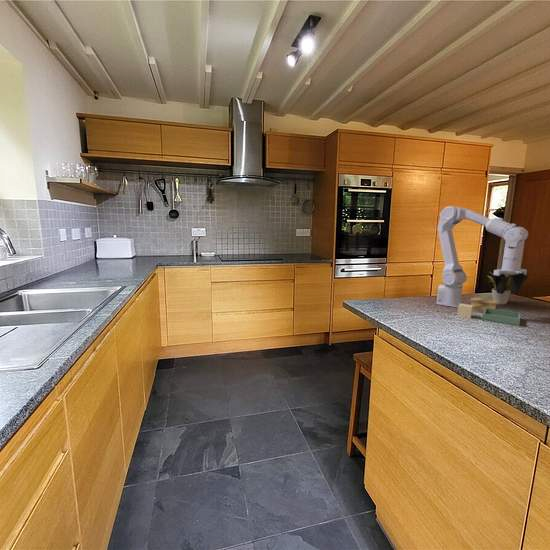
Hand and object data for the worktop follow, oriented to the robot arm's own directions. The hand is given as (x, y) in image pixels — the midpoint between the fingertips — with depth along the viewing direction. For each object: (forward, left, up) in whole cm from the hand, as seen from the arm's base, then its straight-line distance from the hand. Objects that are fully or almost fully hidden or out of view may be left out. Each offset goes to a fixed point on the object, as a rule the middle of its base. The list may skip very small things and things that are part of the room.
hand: (507, 292), depth 117 cm
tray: (-1, -6, -10) cm, 11 cm away
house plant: (-1, +27, -10) cm, 29 cm away
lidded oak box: (-7, +3, -10) cm, 13 cm away
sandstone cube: (-12, -10, -10) cm, 18 cm away
